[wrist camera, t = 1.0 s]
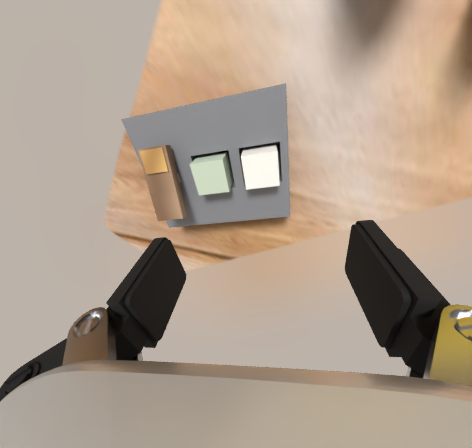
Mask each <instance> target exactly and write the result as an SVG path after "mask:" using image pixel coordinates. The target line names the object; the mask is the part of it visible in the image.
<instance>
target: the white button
mask: <svg viewBox="0 0 472 448" xmlns="http://www.w3.org/2000/svg"><path fill="white" fill-rule="evenodd" d="M241 160H242V167H243V173H244V179H245V185H246V190H248V189H256V188H265V187H273V186H280V183H279V166H278V151H277V147H276V144H271V145H265V146H259V147H253V148H247V149H243V152H242V155H241Z"/></svg>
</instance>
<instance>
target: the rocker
mask: <svg viewBox="0 0 472 448" xmlns="http://www.w3.org/2000/svg"><path fill="white" fill-rule="evenodd" d="M138 153H139V156H140V160H141V163H142V167H143V170H144V174H145V177H146V181H147V184H148V188H149V191H150V195H151V198H152V202H153V205H154V208H155V212H156V215H157V219H158V221H163V220H173V219H183V218H184V217H186V216H187V213H186V209H185V205H184V201H183V196H182V192H181V188H180V184H179V179H178V175H177V171H176V167H175V162H174V158H173V154H172V150H171V145H162V146H156V147H151V148H145V149H140V150H138Z"/></svg>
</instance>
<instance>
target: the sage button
mask: <svg viewBox="0 0 472 448" xmlns="http://www.w3.org/2000/svg"><path fill="white" fill-rule="evenodd" d="M190 168H191V171H192V174H193V177H194V181H195V184H196V187H197V191H198V194H199V195H207V194H216V193H224V192H230V189H231V186H232V183H233V179H232V174H231V169H230V164H229V159H228V153H227V152H222V153H216V154H210V155H204V156H198V157H197V158H196V159H195V160H194V161H193V162H192V163H191V164H190Z"/></svg>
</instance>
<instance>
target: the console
mask: <svg viewBox="0 0 472 448" xmlns="http://www.w3.org/2000/svg"><path fill="white" fill-rule="evenodd" d="M122 122H123V124H124V126H125V128H126V131H127V133H128V135H129V138H130V140H131V142H132V144H133V147H134V149H135V151H136V153H137V156H138V158H139V160H140V156H139V153H138V150H140V149H145V148H151V147H156V146H162V145H171V150H172V154H173V158H174V162H175V167H176V171H177V175H178V179H179V184H180V188H181V192H182V196H183V201H184V205H185V209H186V213H187V216H186V217H184V218H183V219H173V220H166V222H167V224H168V226H169V228H170V227H181V226H191V225H202V224H213V223H224V222H235V221H246V220H257V219H268V218H278V217H289V216H290V189H289V158H288V127H287V97H286V84H281V85H277V86H272V87H268V88H263V89H258V90H254V91H249V92H245V93H240V94H236V95H231V96H226V97H222V98H217V99H213V100H208V101H204V102H199V103H194V104H190V105H185V106H181V107H176V108H172V109H167V110H163V111H158V112H153V113H149V114H144V115H140V116H135V117H131V118H126V119H122ZM271 144H276V147H277V151H278V166H279V183H280V186H273V187H265V188H256V189H248V190H246V185H245V179H244V173H243V167H242V160H241V155H242V152H243V149H247V148H253V147H259V146H265V145H271ZM222 152H227V153H228V159H229V164H230V169H231V174H232V179H233V183H232V186H231V189H230V192H224V193H216V194H207V195H199V194H198V191H197V187H196V184H195V181H194V177H193V174H192V171H191V168H190V164H191V163H192V162H193V161H194V160H195V159H196V158H197V157H198V156H204V155H210V154H216V153H222ZM140 163H141V160H140ZM141 165H142V163H141Z"/></svg>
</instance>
